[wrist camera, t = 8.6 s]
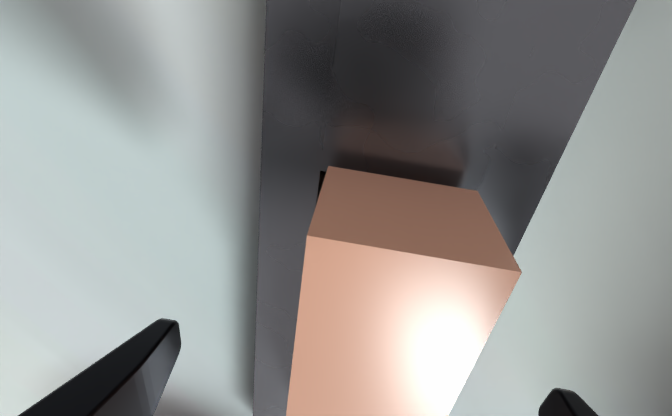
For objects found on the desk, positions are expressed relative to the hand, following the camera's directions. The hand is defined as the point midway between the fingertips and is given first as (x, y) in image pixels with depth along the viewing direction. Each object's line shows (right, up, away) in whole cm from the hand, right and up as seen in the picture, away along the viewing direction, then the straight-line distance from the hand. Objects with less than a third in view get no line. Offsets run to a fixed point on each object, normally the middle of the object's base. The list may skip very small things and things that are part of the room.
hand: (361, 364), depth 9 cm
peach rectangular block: (0, +2, +3) cm, 4 cm away
